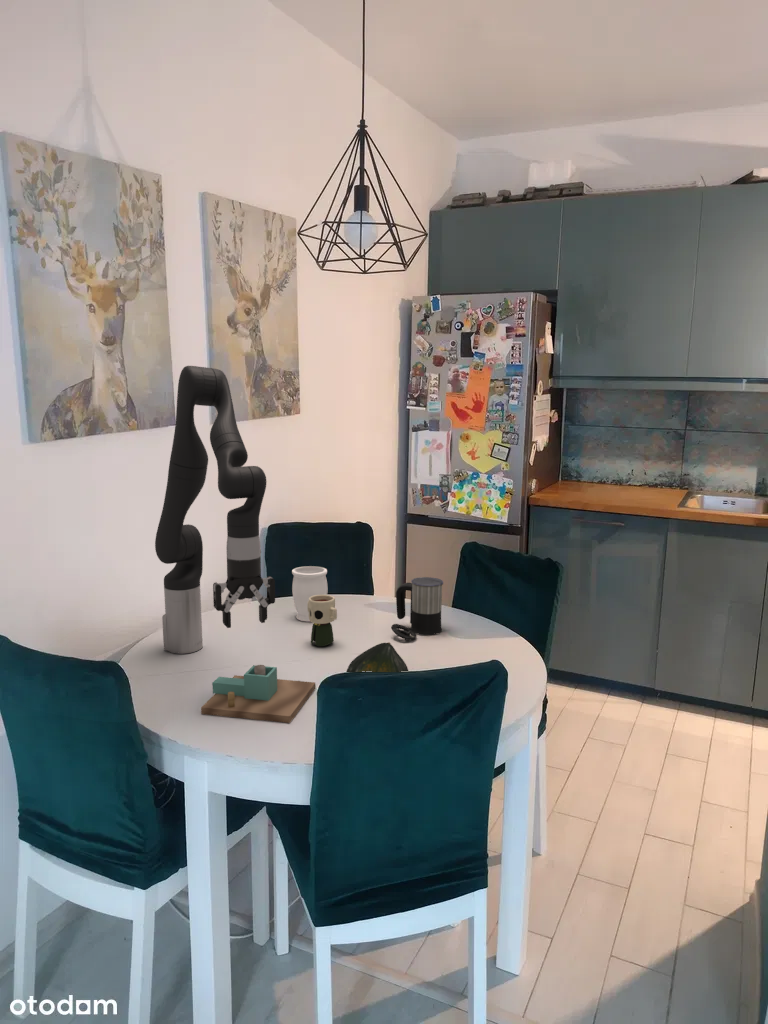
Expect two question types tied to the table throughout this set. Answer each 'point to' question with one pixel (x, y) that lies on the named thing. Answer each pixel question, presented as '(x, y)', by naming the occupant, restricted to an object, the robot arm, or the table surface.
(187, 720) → the table surface
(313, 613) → the character mug
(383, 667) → the squash
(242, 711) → the base
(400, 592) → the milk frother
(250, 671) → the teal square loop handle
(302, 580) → the jar
